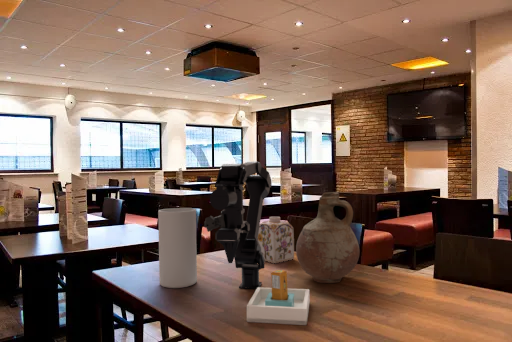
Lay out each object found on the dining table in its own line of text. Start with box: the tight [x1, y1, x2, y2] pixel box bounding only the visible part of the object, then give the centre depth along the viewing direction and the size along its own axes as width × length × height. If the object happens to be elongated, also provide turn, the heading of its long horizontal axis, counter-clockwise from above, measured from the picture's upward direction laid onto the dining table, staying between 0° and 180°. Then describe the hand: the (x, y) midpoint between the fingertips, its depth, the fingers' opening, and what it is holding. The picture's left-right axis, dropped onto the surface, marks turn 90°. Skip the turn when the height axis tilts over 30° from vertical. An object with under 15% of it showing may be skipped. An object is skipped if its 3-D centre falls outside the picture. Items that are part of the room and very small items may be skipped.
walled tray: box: [246, 286, 311, 326], centre depth 107 cm, size 16×15×4 cm
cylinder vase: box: [157, 207, 198, 289], centre depth 136 cm, size 12×12×25 cm
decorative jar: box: [258, 216, 295, 264], centre depth 169 cm, size 12×12×18 cm
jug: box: [295, 191, 361, 284], centre depth 137 cm, size 22×22×30 cm
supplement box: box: [270, 269, 289, 300], centre depth 107 cm, size 3×3×10 cm
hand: (234, 259), depth 118 cm, fingers open, 9 cm apart
